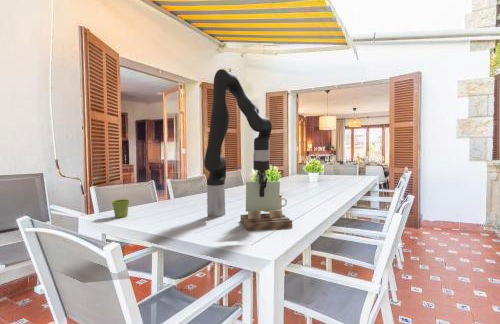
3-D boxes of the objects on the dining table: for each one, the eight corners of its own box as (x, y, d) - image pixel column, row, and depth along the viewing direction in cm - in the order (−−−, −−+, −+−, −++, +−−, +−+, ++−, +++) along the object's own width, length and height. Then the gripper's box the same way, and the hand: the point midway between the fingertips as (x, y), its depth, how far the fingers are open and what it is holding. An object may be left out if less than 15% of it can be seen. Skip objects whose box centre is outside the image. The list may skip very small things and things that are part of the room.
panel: (246, 211, 140) (246, 181, 139) (245, 211, 141) (246, 181, 140) (279, 210, 143) (279, 181, 142) (278, 210, 144) (279, 181, 143)
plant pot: (107, 217, 159) (107, 201, 158) (121, 214, 168) (120, 198, 167) (121, 219, 155) (120, 202, 155) (134, 215, 164) (133, 199, 164)
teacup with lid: (264, 211, 169) (264, 191, 168) (268, 208, 177) (268, 188, 177) (285, 212, 165) (285, 191, 164) (288, 209, 174) (288, 189, 173)
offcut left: (248, 225, 134) (248, 212, 133) (248, 224, 135) (248, 211, 135) (260, 224, 135) (260, 211, 134) (260, 223, 136) (259, 210, 136)
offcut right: (270, 224, 136) (270, 211, 135) (269, 223, 137) (269, 210, 137) (282, 223, 137) (282, 210, 136) (281, 222, 138) (281, 209, 138)
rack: (247, 234, 125) (247, 223, 125) (240, 223, 143) (240, 214, 143) (292, 231, 129) (292, 220, 129) (280, 221, 147) (280, 212, 146)
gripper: (250, 159, 146) (250, 194, 147) (256, 160, 133) (256, 199, 134) (265, 159, 148) (265, 193, 148) (273, 160, 134) (273, 198, 135)
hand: (261, 196), depth 141 cm, fingers closed on panel, 1 cm apart
